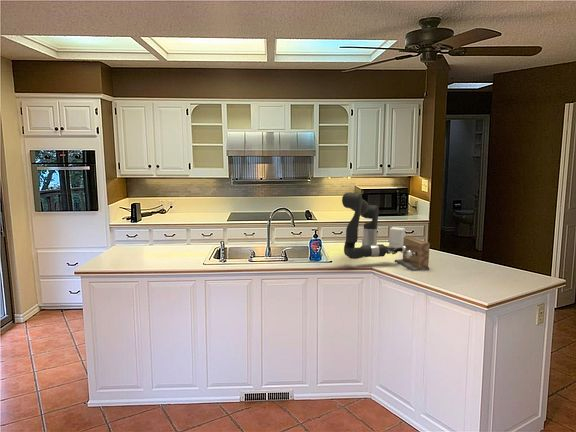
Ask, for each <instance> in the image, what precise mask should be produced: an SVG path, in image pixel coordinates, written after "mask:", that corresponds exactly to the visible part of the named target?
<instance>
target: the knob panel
mask: <svg viewBox="0 0 576 432" xmlns="http://www.w3.org/2000/svg"><path fill="white" fill-rule="evenodd" d="M430 245H431V244H430V242H428V241H425V240H423V239H419V238H417V237H414V236H405V237H404V242H403V246H407V247H408V250H412V251H413V253H417V255H413V257H412V258H406V256H405V253H402V258H401V259H394V262H395V263H396V262H397V264H399V265H401V266H402V267H403V268H406V269H408V270H409V271H412V272H416V271H417V272H418V270H419V271H429V270H430V267H429V262H430V248H431V247H430Z"/></svg>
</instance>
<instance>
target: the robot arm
mask: <svg viewBox="0 0 576 432" xmlns="http://www.w3.org/2000/svg"><path fill="white" fill-rule="evenodd" d="M341 198H342V199H341V203H342V206H343V207H344V208H346V209H350V210H351V211H354V214H353V216H352V218H351V219H350V221H349V222H348V224H347V226H346V229H345V230H346V231H345V240H344V241H345V242H344V246H343V252H344V255H345V256H346V257H347V258H348V259H352V260H357V259H362V258H380V257H382V258H383V257H385V255H386V254H387V255H389V254H392V255H396V254H398V253H401V251H402V248H401V247H400V248H396V247H390V246H389V245H384V244H382V243H381V244H377V240H378V221H379V220H378V219H379V213H380V212H379V206H378V205H375V204H369V203H368V201H366V200H365V199H363V196H362V194H361V193H358V192H346V193H344V194H343V195H342V197H341ZM361 217H362V218H365V219H371V221H369V222H365V223H364V224H363V237H362V239H361V240H362V241H361V246H360V247H355V246H356V243H357V242H358V237H359V236H358V235H359V233H358V232H359V223H360V219H361Z"/></svg>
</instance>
